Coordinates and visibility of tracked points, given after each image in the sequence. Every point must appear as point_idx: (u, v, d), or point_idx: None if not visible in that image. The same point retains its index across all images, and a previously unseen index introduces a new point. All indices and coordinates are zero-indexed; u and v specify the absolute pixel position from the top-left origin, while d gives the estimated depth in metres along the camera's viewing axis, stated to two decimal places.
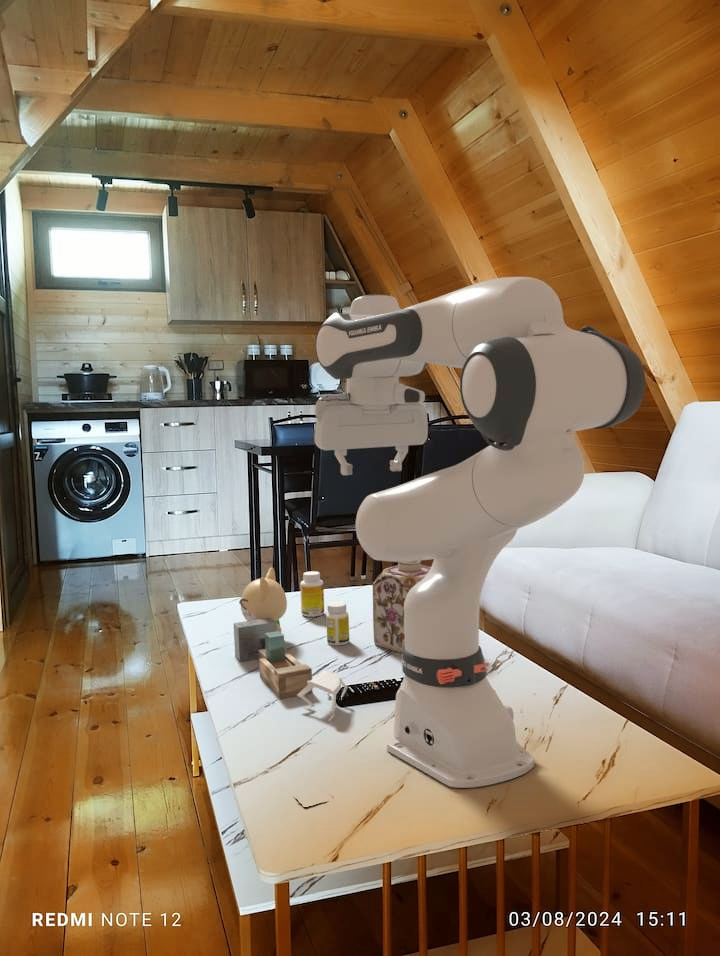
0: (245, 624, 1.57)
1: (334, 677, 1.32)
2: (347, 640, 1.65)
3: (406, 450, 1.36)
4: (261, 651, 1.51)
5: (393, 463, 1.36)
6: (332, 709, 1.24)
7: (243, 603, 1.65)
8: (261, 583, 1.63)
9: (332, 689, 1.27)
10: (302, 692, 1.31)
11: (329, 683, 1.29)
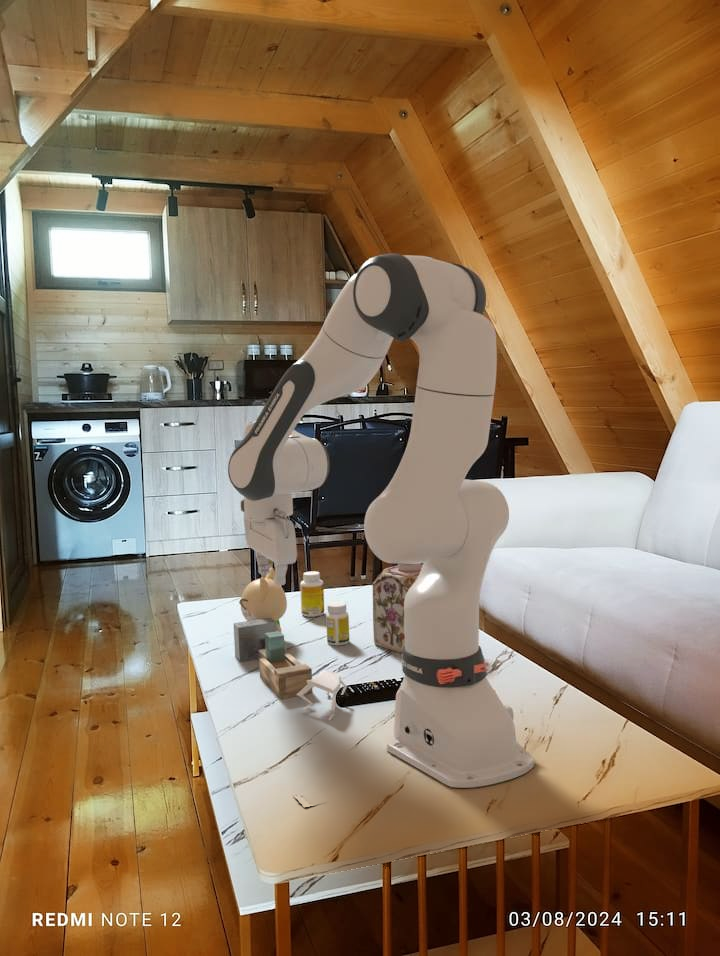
0: (245, 624, 1.57)
1: (334, 676, 1.32)
2: (347, 640, 1.65)
3: None
4: (261, 651, 1.51)
5: (267, 567, 1.49)
6: (332, 708, 1.25)
7: (243, 603, 1.65)
8: (261, 583, 1.63)
9: (332, 688, 1.27)
10: (302, 691, 1.31)
11: (328, 682, 1.30)
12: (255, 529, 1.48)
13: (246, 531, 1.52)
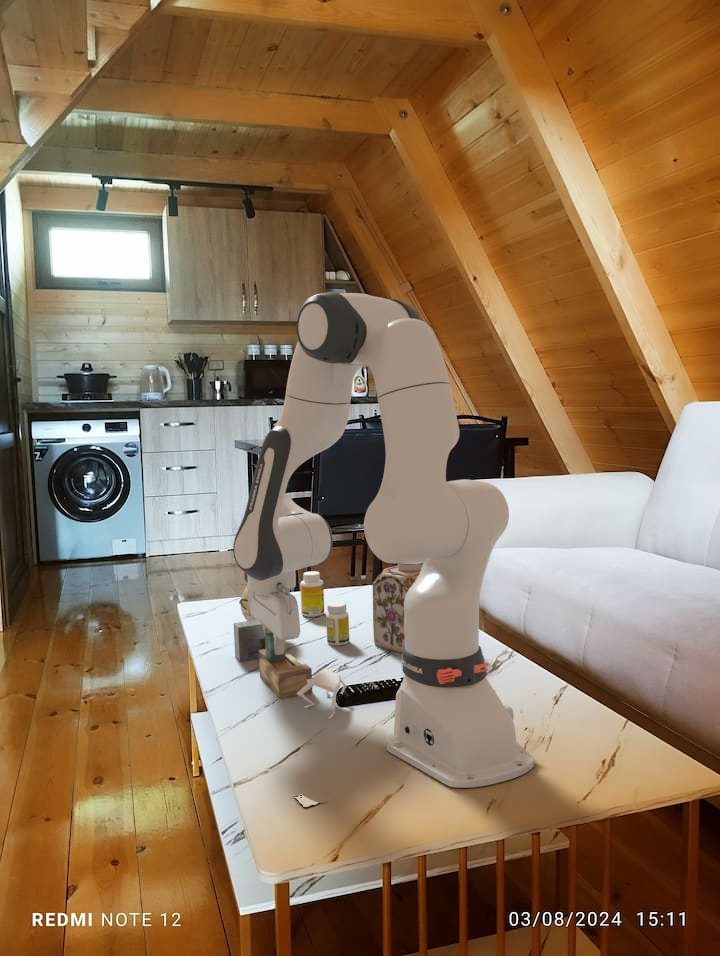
0: (245, 624, 1.57)
1: (333, 675, 1.33)
2: (347, 640, 1.65)
3: None
4: (261, 651, 1.51)
5: None
6: (332, 707, 1.25)
7: (243, 603, 1.65)
8: None
9: (332, 687, 1.27)
10: (302, 691, 1.31)
11: (328, 681, 1.30)
12: (258, 600, 1.49)
13: (249, 600, 1.53)
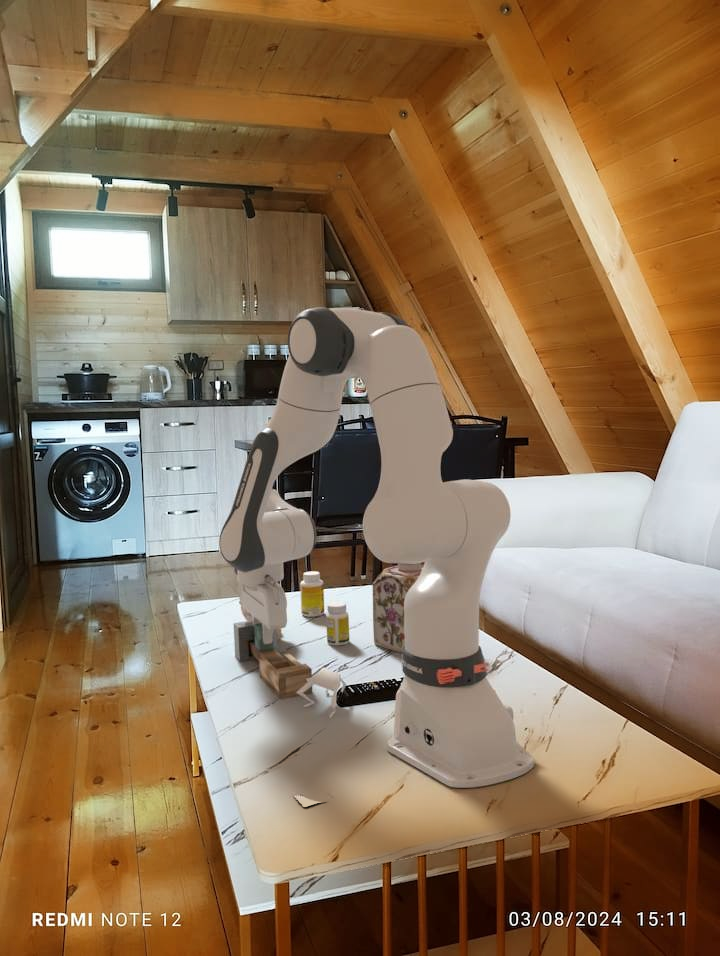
0: (245, 624, 1.57)
1: (333, 674, 1.33)
2: (347, 640, 1.65)
3: None
4: (251, 641, 1.57)
5: None
6: (333, 705, 1.26)
7: None
8: None
9: (332, 686, 1.28)
10: (302, 689, 1.32)
11: (328, 680, 1.31)
12: (248, 591, 1.55)
13: (239, 592, 1.59)
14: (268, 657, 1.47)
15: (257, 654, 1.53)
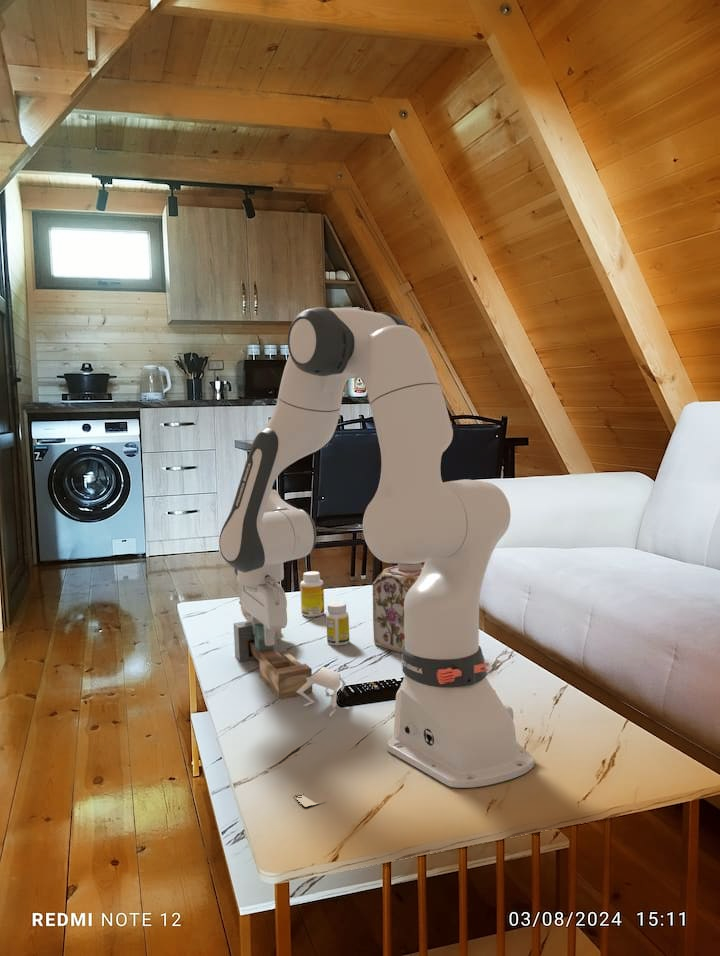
0: (245, 624, 1.57)
1: (333, 673, 1.34)
2: (347, 640, 1.65)
3: None
4: (251, 641, 1.58)
5: None
6: (333, 704, 1.26)
7: None
8: None
9: (332, 685, 1.28)
10: (302, 689, 1.32)
11: (328, 679, 1.31)
12: (248, 592, 1.55)
13: (240, 592, 1.59)
14: (268, 657, 1.48)
15: (257, 654, 1.53)
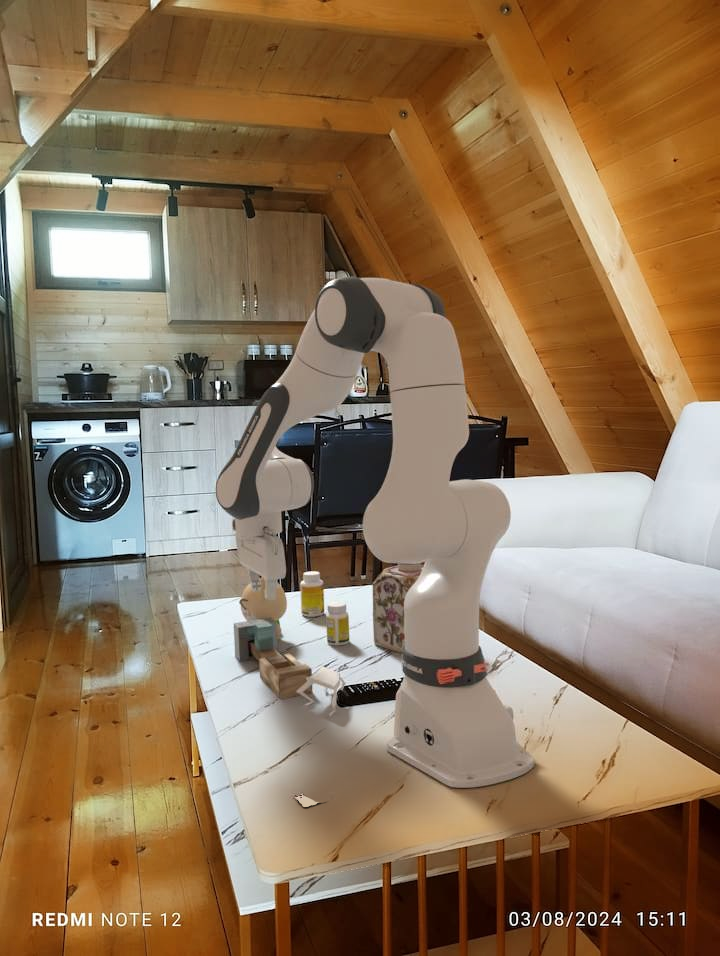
0: (245, 624, 1.57)
1: (332, 673, 1.34)
2: (347, 640, 1.65)
3: None
4: (251, 641, 1.58)
5: (258, 583, 1.56)
6: (333, 704, 1.26)
7: (243, 603, 1.65)
8: (261, 583, 1.63)
9: (332, 685, 1.29)
10: (301, 688, 1.32)
11: (328, 678, 1.31)
12: (246, 547, 1.54)
13: (238, 549, 1.58)
14: (268, 657, 1.48)
15: (257, 654, 1.53)
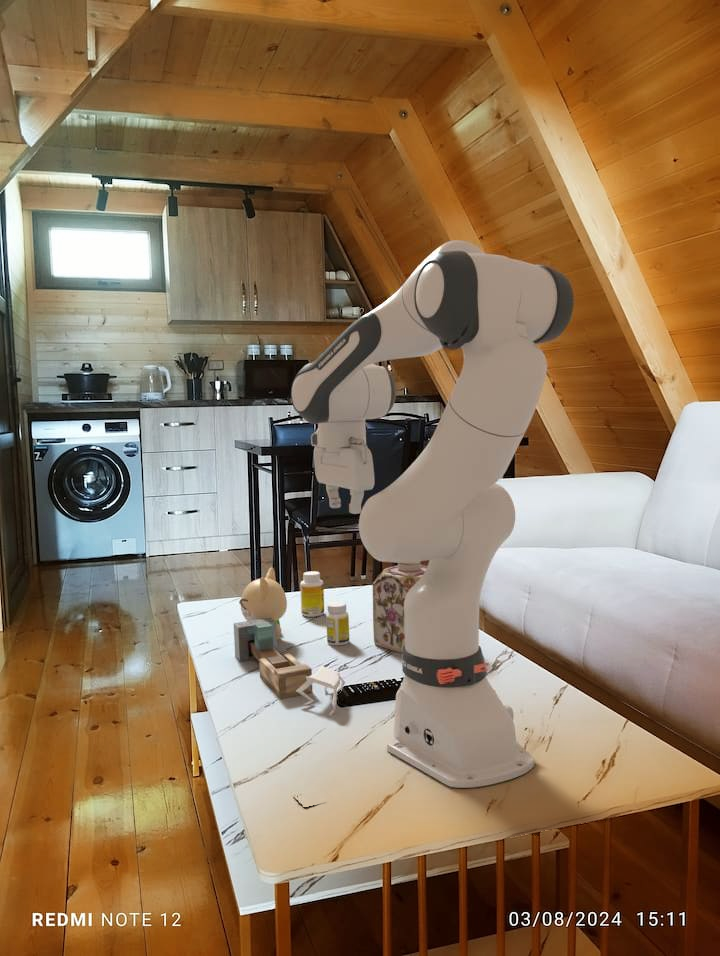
0: (245, 624, 1.57)
1: (332, 672, 1.34)
2: (347, 640, 1.65)
3: None
4: (251, 641, 1.58)
5: (338, 500, 1.50)
6: (334, 703, 1.27)
7: (243, 603, 1.65)
8: (261, 583, 1.63)
9: (332, 684, 1.29)
10: (301, 688, 1.33)
11: (328, 678, 1.32)
12: (327, 462, 1.49)
13: (316, 466, 1.53)
14: (268, 657, 1.48)
15: (257, 654, 1.53)
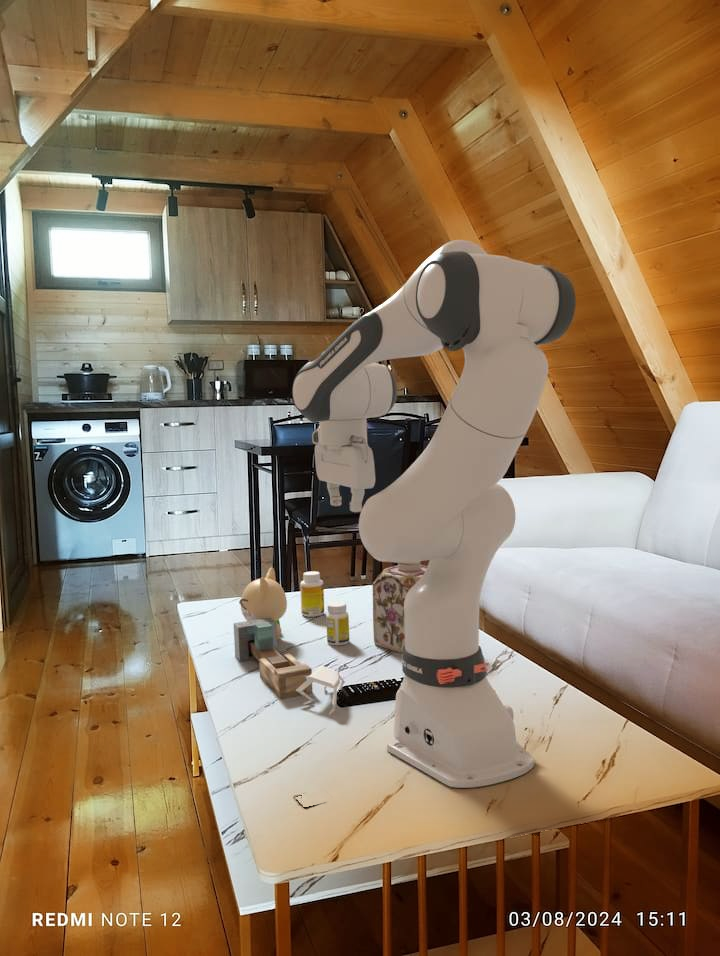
0: (245, 624, 1.57)
1: (332, 672, 1.35)
2: (347, 640, 1.65)
3: None
4: (251, 641, 1.58)
5: (339, 498, 1.50)
6: (334, 702, 1.27)
7: (243, 603, 1.65)
8: (261, 583, 1.63)
9: (332, 683, 1.29)
10: (301, 687, 1.33)
11: (328, 677, 1.32)
12: (328, 460, 1.49)
13: (317, 464, 1.53)
14: (268, 657, 1.48)
15: (257, 654, 1.53)
